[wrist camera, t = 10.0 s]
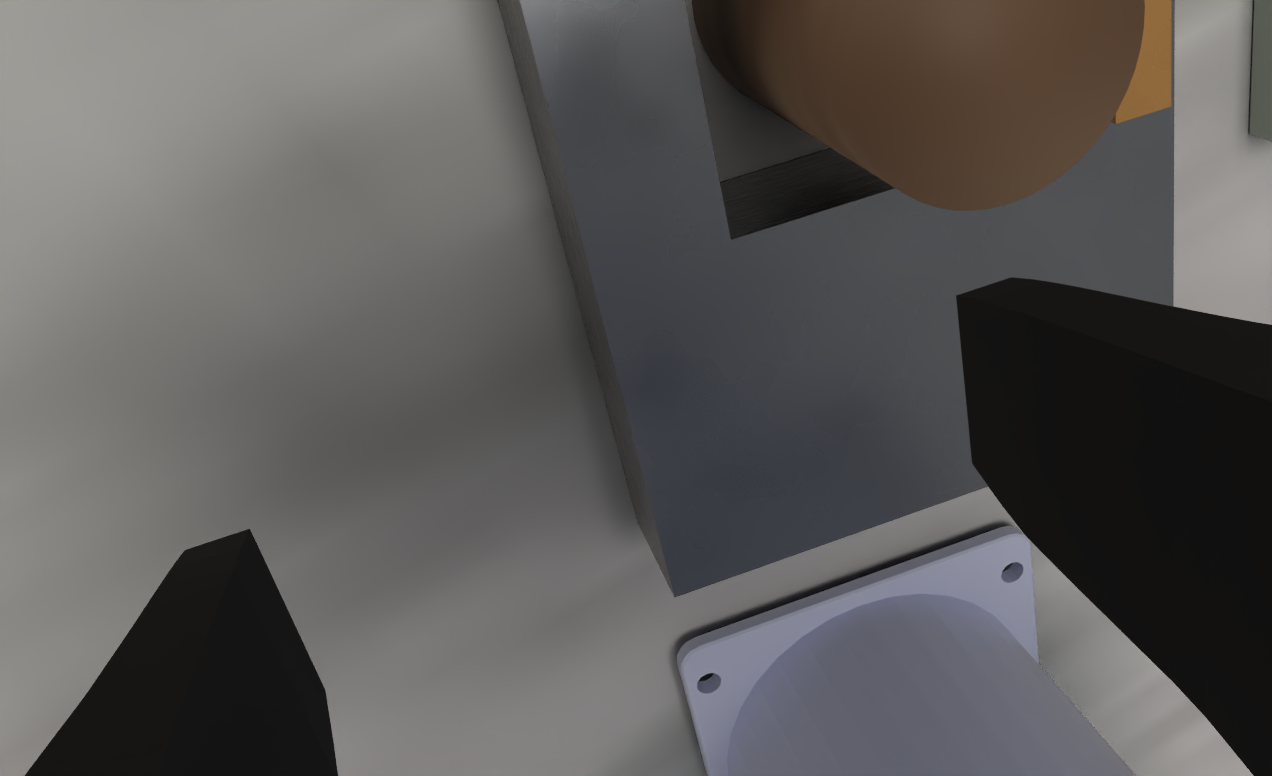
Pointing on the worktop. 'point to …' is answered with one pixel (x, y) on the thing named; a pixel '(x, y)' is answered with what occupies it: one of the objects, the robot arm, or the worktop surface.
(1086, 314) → the robot arm
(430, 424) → the worktop surface
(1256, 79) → the pad
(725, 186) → the hole plate
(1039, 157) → the peg
